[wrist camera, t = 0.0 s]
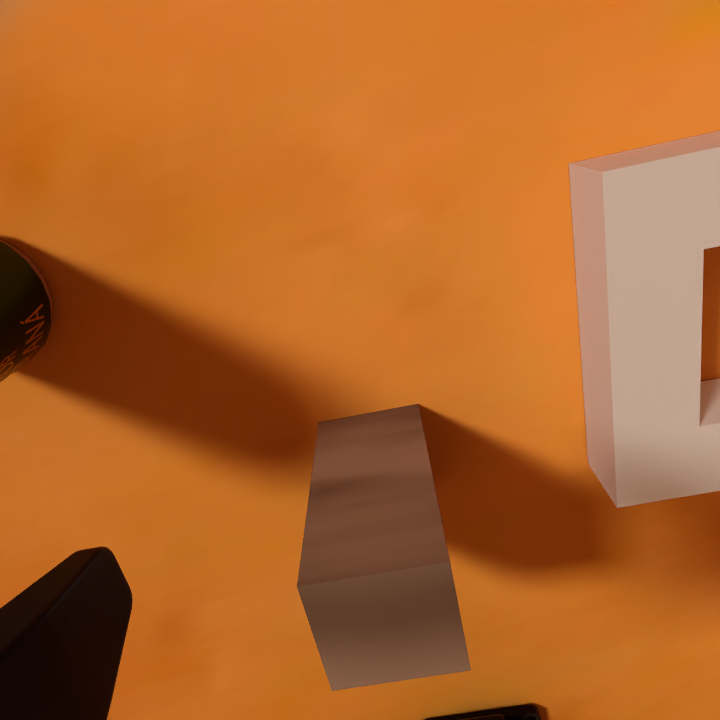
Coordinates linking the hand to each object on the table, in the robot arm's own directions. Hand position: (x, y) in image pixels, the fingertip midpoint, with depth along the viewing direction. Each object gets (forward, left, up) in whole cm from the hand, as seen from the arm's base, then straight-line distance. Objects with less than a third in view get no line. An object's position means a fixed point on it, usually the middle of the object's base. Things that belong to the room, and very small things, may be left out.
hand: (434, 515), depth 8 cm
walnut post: (-8, +2, -15) cm, 17 cm away
